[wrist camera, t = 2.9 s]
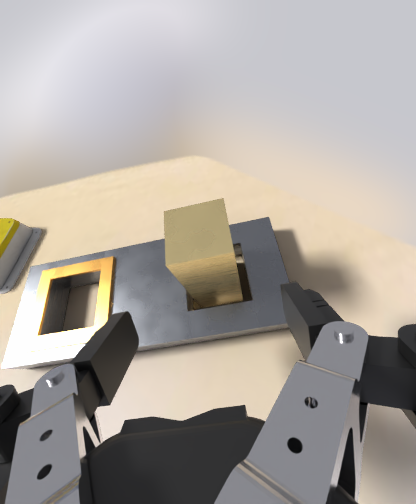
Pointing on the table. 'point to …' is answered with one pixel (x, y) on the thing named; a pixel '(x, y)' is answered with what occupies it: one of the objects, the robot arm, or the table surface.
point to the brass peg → (202, 253)
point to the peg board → (145, 299)
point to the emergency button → (14, 250)
